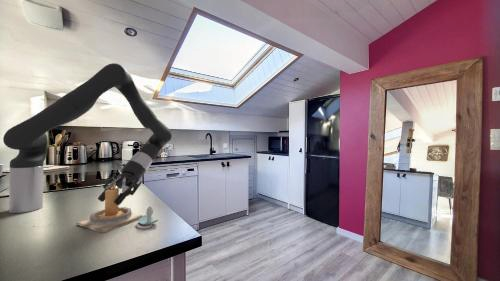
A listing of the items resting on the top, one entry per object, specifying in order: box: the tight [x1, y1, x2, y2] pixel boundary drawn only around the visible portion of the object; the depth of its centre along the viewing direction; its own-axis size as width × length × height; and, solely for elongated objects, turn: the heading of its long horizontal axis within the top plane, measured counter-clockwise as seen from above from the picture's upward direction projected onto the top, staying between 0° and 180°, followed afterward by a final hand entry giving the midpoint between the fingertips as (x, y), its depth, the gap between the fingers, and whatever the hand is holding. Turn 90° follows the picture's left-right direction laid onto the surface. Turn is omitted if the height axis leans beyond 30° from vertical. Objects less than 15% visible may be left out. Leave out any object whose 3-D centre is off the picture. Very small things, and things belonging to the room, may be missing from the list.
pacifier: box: [135, 206, 159, 230], centre depth 71 cm, size 7×6×6 cm
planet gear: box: [98, 188, 124, 218], centre depth 74 cm, size 8×8×10 cm
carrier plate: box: [76, 206, 144, 234], centre depth 74 cm, size 14×14×3 cm
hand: (107, 202), depth 72 cm, fingers open, 8 cm apart
